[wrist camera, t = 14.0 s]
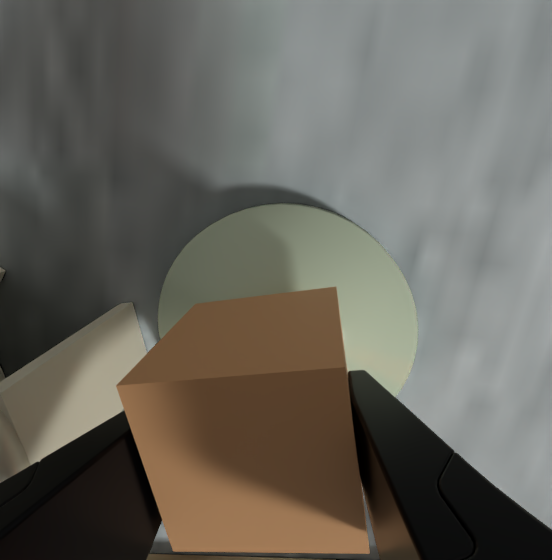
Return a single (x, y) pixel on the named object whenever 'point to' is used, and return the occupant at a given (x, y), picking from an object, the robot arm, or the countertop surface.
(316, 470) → the block
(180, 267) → the dish
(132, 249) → the countertop surface
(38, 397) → the cover
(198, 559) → the balance
